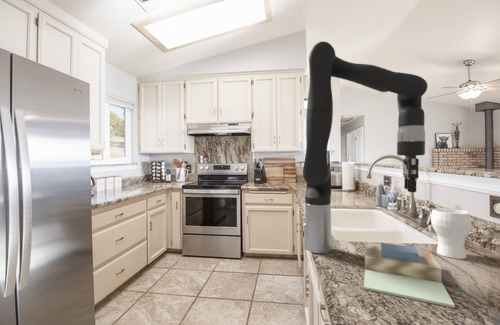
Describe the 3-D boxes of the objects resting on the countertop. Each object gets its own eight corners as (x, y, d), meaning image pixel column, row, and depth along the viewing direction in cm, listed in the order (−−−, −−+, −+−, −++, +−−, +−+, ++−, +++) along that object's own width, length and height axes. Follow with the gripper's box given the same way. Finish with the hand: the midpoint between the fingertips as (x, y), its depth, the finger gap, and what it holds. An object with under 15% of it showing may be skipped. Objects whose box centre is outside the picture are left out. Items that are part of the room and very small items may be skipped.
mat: (363, 289, 60) (363, 286, 60) (365, 271, 70) (365, 269, 70) (455, 308, 51) (455, 305, 51) (442, 284, 61) (441, 282, 61)
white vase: (432, 247, 88) (431, 207, 89) (470, 253, 82) (469, 210, 82) (431, 255, 80) (430, 211, 80) (474, 263, 74) (472, 215, 74)
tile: (381, 257, 70) (381, 248, 70) (381, 250, 75) (381, 242, 75) (418, 262, 66) (418, 253, 66) (415, 255, 71) (415, 246, 71)
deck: (365, 270, 70) (364, 257, 70) (366, 256, 81) (365, 244, 81) (441, 284, 62) (441, 268, 62) (431, 266, 72) (431, 253, 72)
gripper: (395, 142, 85) (394, 187, 85) (399, 139, 72) (398, 192, 72) (421, 142, 81) (420, 189, 81) (429, 138, 69) (428, 194, 69)
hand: (409, 190), depth 77 cm, fingers open, 8 cm apart
